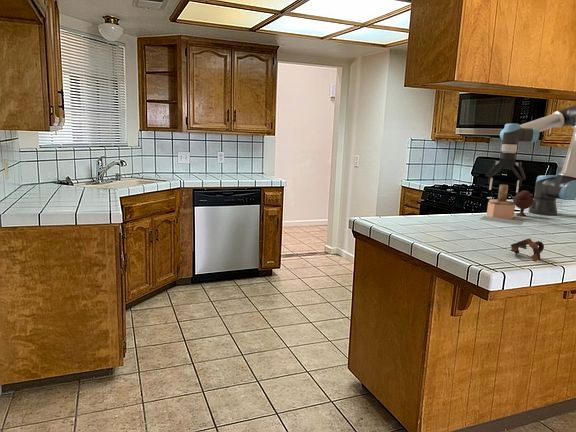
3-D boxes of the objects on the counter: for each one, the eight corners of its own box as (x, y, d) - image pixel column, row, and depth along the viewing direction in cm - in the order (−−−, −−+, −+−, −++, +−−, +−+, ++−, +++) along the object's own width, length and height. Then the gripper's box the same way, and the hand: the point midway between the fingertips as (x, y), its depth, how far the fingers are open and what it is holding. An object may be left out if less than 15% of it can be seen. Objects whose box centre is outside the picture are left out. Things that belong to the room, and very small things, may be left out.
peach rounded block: (516, 203, 250) (518, 185, 249) (512, 206, 240) (515, 187, 238) (491, 200, 257) (493, 183, 256) (486, 203, 247) (489, 184, 245)
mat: (524, 222, 238) (524, 221, 238) (520, 225, 227) (521, 224, 227) (484, 216, 249) (484, 215, 249) (479, 220, 238) (479, 219, 238)
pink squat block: (514, 217, 252) (516, 203, 251) (510, 220, 242) (512, 205, 240) (489, 214, 259) (491, 200, 258) (485, 217, 249) (486, 202, 247)
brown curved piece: (529, 263, 159) (519, 242, 160) (511, 268, 167) (502, 247, 169) (555, 254, 162) (545, 232, 163) (536, 258, 171) (527, 238, 172)
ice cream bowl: (536, 217, 256) (540, 191, 253) (522, 217, 252) (525, 191, 249) (520, 213, 266) (524, 188, 263) (506, 214, 261) (510, 188, 259)
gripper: (482, 151, 248) (478, 189, 251) (533, 153, 234) (527, 194, 238) (485, 151, 254) (480, 188, 258) (535, 153, 240) (529, 192, 244)
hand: (503, 191), depth 248 cm, fingers open, 13 cm apart
